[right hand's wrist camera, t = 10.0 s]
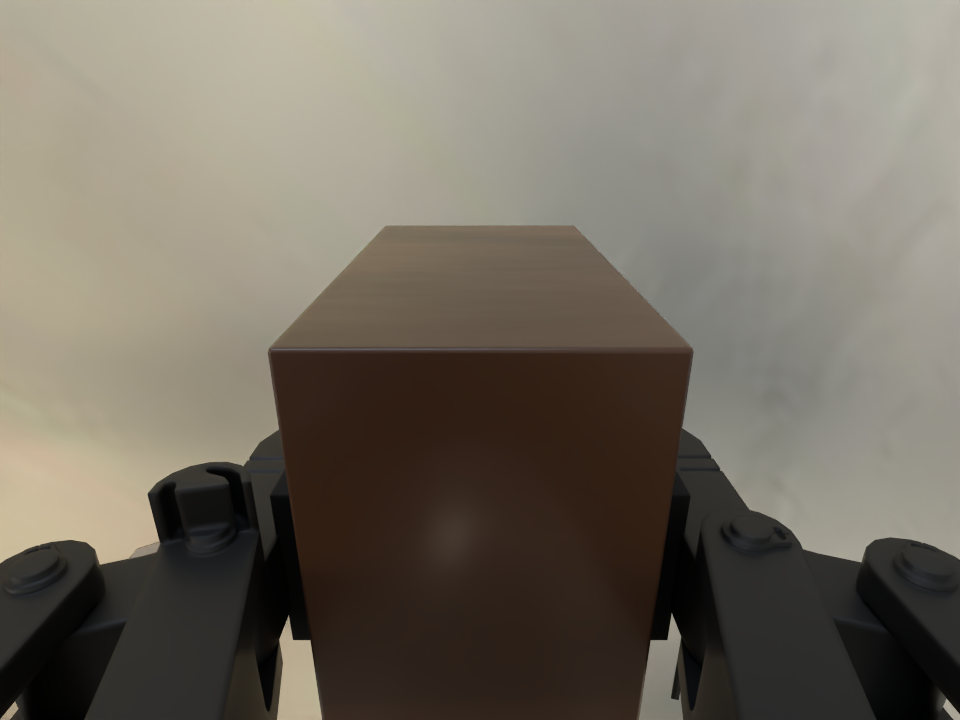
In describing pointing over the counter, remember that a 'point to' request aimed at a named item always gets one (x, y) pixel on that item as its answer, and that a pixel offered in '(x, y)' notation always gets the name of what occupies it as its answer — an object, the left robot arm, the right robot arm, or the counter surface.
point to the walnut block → (480, 475)
